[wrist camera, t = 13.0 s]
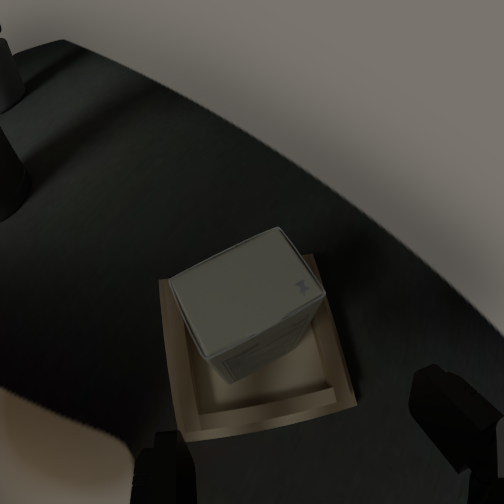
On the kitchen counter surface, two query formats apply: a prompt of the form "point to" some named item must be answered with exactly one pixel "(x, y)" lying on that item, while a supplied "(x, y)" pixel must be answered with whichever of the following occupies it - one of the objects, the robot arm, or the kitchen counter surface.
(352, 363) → the kitchen counter surface
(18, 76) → the water bottle
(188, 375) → the tray
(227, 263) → the skincare box
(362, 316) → the kitchen counter surface
